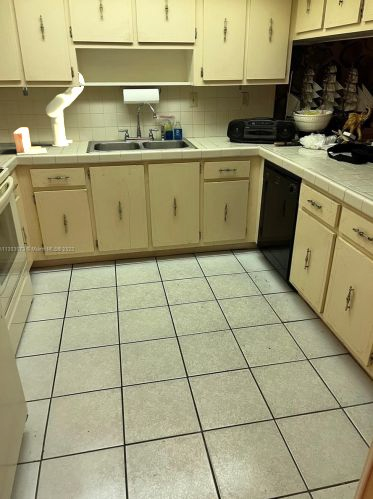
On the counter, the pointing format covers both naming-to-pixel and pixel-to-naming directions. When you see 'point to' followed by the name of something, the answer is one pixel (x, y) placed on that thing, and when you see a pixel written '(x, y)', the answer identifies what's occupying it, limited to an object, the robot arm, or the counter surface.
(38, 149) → the mat
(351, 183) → the counter surface
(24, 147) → the cracker box
